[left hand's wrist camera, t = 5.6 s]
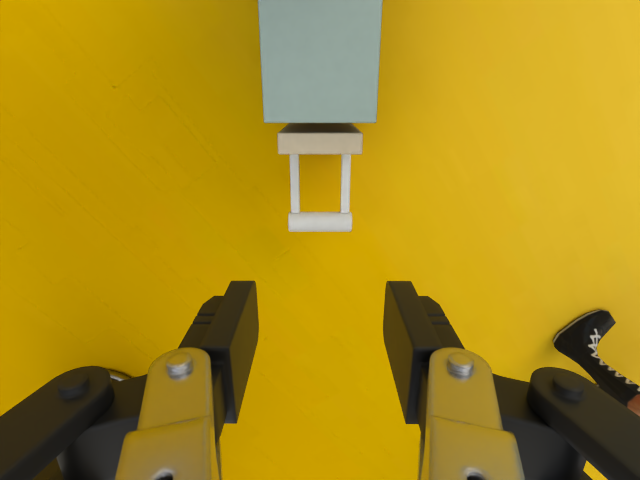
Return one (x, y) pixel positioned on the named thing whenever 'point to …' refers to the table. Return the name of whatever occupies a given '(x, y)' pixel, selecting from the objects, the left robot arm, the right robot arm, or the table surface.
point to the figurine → (582, 349)
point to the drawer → (320, 142)
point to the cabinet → (320, 60)
